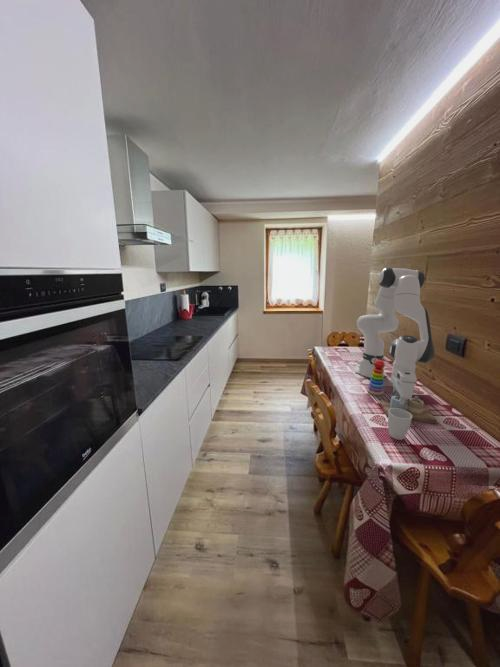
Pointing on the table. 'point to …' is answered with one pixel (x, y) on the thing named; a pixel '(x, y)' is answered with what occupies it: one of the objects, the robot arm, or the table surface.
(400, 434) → the cup
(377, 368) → the stacking toy
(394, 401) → the loose gear
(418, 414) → the gear board
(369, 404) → the table surface
